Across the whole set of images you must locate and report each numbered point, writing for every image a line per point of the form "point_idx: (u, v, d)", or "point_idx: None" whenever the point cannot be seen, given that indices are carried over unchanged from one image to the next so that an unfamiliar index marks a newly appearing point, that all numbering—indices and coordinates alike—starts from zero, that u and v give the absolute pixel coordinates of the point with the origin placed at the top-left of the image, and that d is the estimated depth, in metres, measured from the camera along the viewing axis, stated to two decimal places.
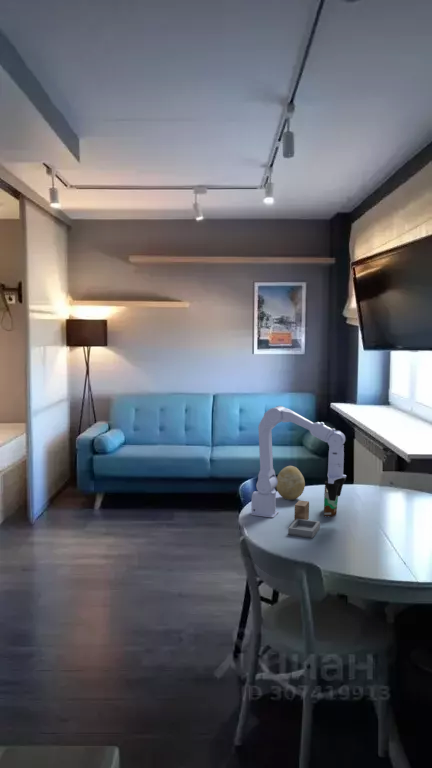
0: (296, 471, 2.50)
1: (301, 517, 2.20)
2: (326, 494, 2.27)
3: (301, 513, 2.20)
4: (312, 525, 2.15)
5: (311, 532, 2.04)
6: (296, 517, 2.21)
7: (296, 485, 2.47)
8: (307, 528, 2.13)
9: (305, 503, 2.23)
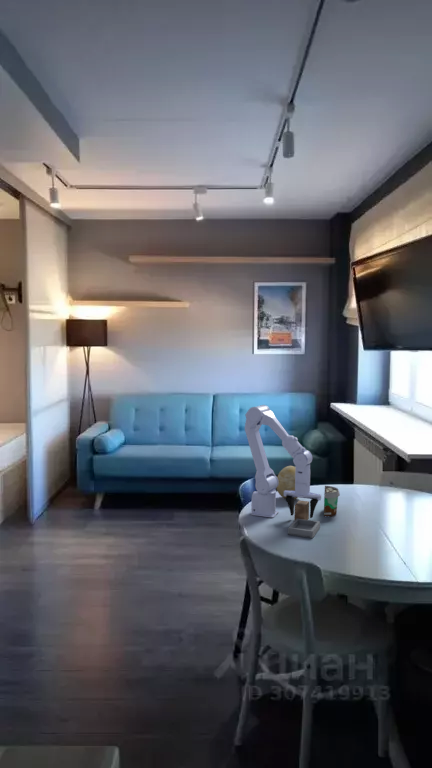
0: None
1: (301, 517, 2.20)
2: (326, 494, 2.27)
3: (301, 513, 2.20)
4: (312, 525, 2.15)
5: (311, 532, 2.04)
6: (296, 517, 2.21)
7: None
8: (307, 528, 2.13)
9: (305, 503, 2.23)
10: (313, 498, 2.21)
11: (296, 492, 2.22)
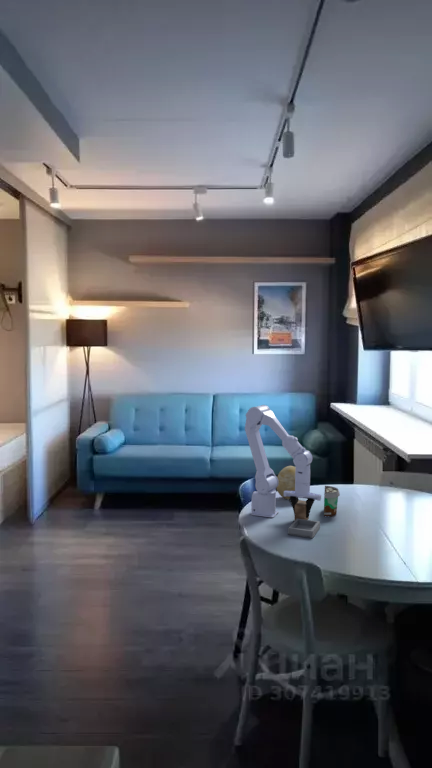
0: None
1: (301, 517, 2.20)
2: (326, 494, 2.27)
3: (301, 512, 2.20)
4: (312, 525, 2.15)
5: (311, 532, 2.04)
6: (296, 517, 2.21)
7: None
8: (307, 528, 2.13)
9: (305, 503, 2.23)
10: (313, 498, 2.21)
11: (296, 492, 2.22)
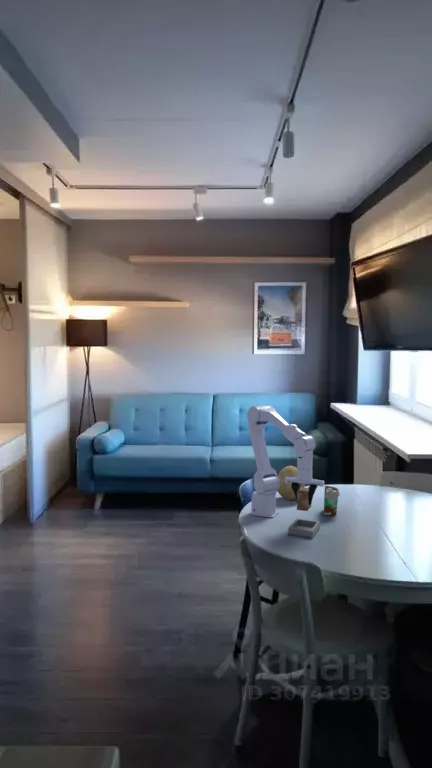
0: (296, 471, 2.50)
1: (304, 504, 2.13)
2: (326, 494, 2.27)
3: (304, 499, 2.12)
4: (312, 525, 2.15)
5: (311, 532, 2.04)
6: (298, 504, 2.13)
7: None
8: (307, 528, 2.13)
9: (308, 490, 2.15)
10: (316, 484, 2.13)
11: (298, 478, 2.14)
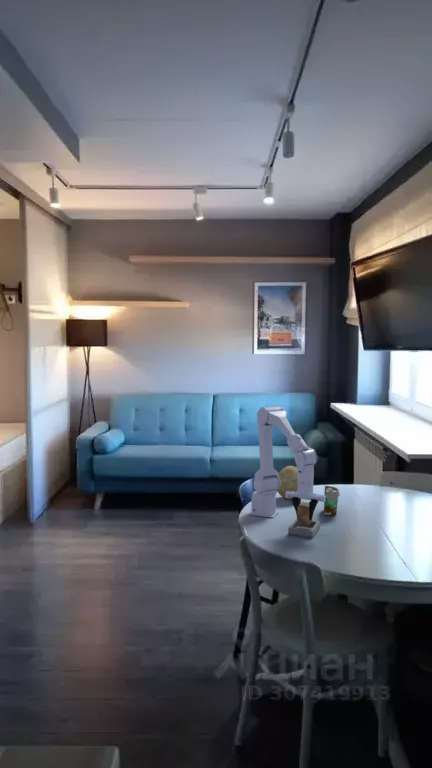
0: (296, 471, 2.50)
1: (304, 519, 2.08)
2: (326, 494, 2.27)
3: (305, 515, 2.07)
4: (312, 525, 2.15)
5: (311, 532, 2.04)
6: (299, 519, 2.08)
7: (296, 485, 2.47)
8: (307, 528, 2.13)
9: (308, 505, 2.11)
10: (317, 499, 2.08)
11: (299, 493, 2.09)
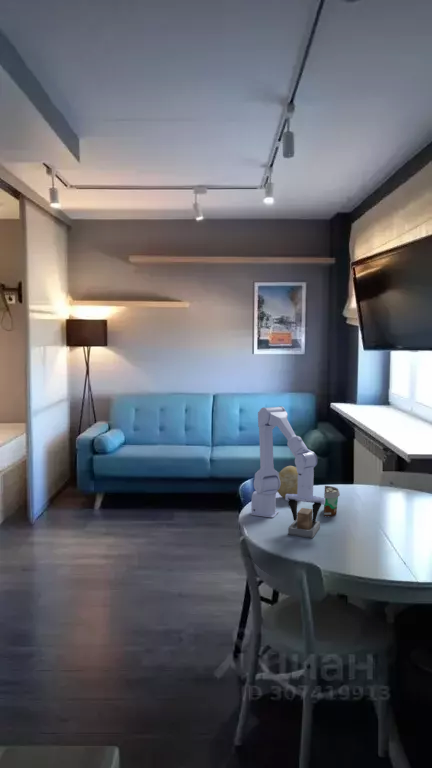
0: (296, 471, 2.50)
1: (304, 526, 2.08)
2: (326, 494, 2.27)
3: (304, 521, 2.08)
4: (312, 525, 2.15)
5: (311, 532, 2.04)
6: (299, 526, 2.09)
7: (296, 485, 2.47)
8: None
9: (308, 511, 2.11)
10: (317, 502, 2.08)
11: (299, 496, 2.09)
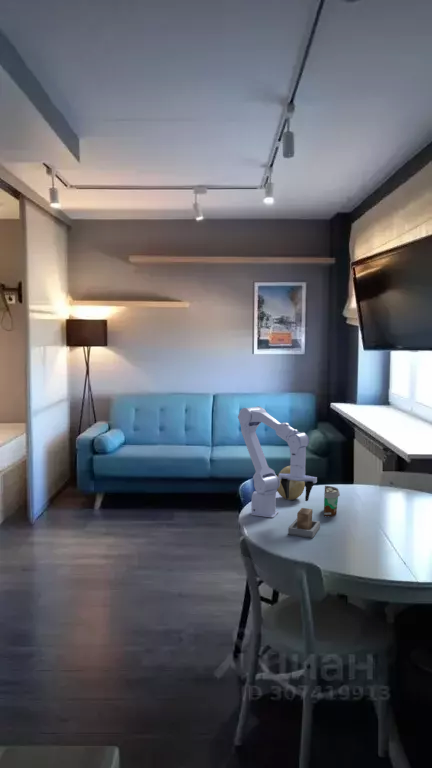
0: None
1: (304, 526, 2.08)
2: (326, 494, 2.27)
3: (304, 521, 2.08)
4: (312, 525, 2.15)
5: (311, 532, 2.04)
6: (299, 526, 2.09)
7: (296, 485, 2.47)
8: None
9: (308, 511, 2.11)
10: (308, 481, 2.17)
11: (291, 475, 2.18)
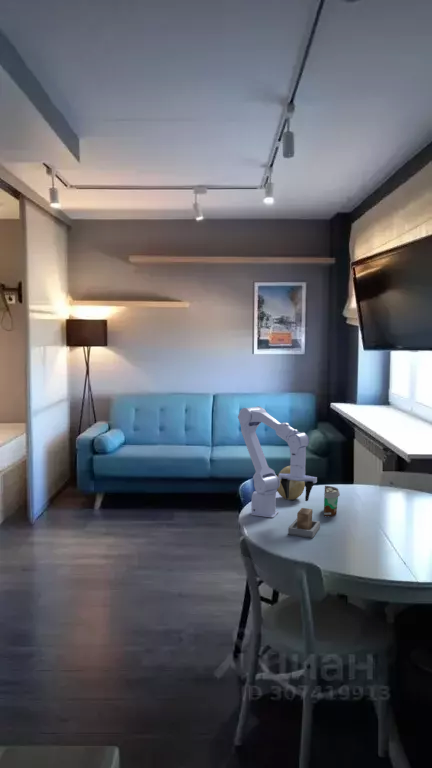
0: None
1: (304, 526, 2.08)
2: (326, 494, 2.27)
3: (304, 521, 2.08)
4: (312, 525, 2.15)
5: (311, 532, 2.04)
6: (299, 526, 2.09)
7: (296, 485, 2.47)
8: None
9: (308, 511, 2.11)
10: (308, 481, 2.17)
11: (291, 475, 2.18)
